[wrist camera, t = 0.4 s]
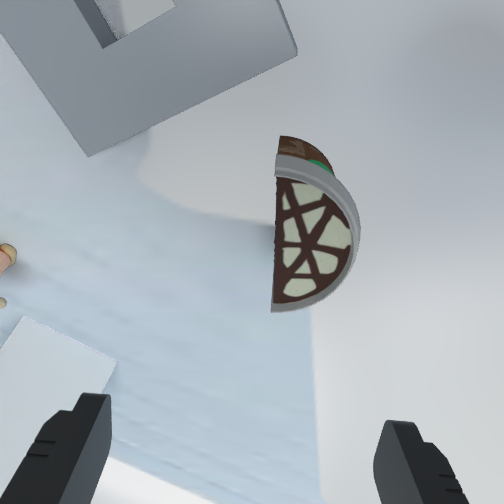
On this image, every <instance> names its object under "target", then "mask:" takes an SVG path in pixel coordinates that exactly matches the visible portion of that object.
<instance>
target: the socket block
mask: <svg viewBox="0 0 504 504" xmlns="http://www.w3.org/2000/svg"><path fill="white" fill-rule="evenodd" d="M173 2H174V4H175V6H176V7H175V8H173V9H172V10H169V11H168V12H166V13H164V14H162V15H161V16H159V17H157V18H156V19H154V20H152V21H150V22H149V23H147V24H145V25H144V26H142V27H140V28H138V29H137V30H135V31H133V32H131V33H130V34H128V35H126V36H124V37H123V38H121V39H119V40H118V41H117V40H116V38H115V36H114V35H113V33H112V31H111V30H110V28H109V26H108V24H107V23H106V21H105V19H104V17H103V16H102V14H101V12H100V11H99V9H98V7H97V5H96V4H95V2H94V0H0V33H1V34H2V35H3V37H4V38H5V40H6V41H7V43H8V44H9V45H10V47H11V48H12V50H13V51H14V53H15V54H16V55H17V57H18V58H19V60H20V61H21V63H22V64H23V65H24V67H25V68H26V70H27V71H28V73H29V74H30V75H31V77H32V78H33V80H34V81H35V83H36V84H37V85H38V87H39V88H40V90H41V91H42V93H43V94H44V95H45V97H46V98H47V100H48V101H49V103H50V104H51V105H52V107H53V108H54V110H55V111H56V113H57V114H58V115H59V117H60V118H61V120H62V121H63V123H64V124H65V125H66V127H67V128H68V130H69V131H70V133H71V134H72V135H73V137H74V138H75V140H76V141H77V143H78V144H79V145H80V147H81V148H82V150H83V151H84V153H85V154H86V156H87V157H90V156H92V155H94V154H96V153H98V152H101V151H103V150H105V149H107V148H109V147H111V146H113V145H115V144H117V143H119V142H121V141H123V140H125V139H127V138H129V137H131V136H133V135H135V134H138V133H140V132H142V131H144V130H146V129H148V128H150V127H152V126H154V125H156V124H158V123H160V122H162V121H164V120H166V119H168V118H170V117H172V116H174V115H177V114H179V113H180V112H183V111H185V110H187V109H189V108H191V107H193V106H195V105H197V104H199V103H201V102H203V101H205V100H207V99H209V98H211V97H213V96H216V95H218V94H220V93H222V92H224V91H226V90H228V89H230V88H232V87H234V86H236V85H238V84H240V83H242V82H244V81H246V80H248V79H250V78H252V77H255V76H257V75H258V74H261V73H263V72H265V71H267V70H269V69H271V68H273V67H275V66H277V65H279V64H281V63H283V62H285V61H287V60H289V59H291V58H293V57H296V56H297V46H296V43H295V41H294V38H293V35H292V33H291V31H290V28H289V25H288V23H287V20H286V17H285V15H284V12H283V10H282V7H281V4H280V2H279V0H173Z"/></svg>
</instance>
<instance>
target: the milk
mask: <svg viewBox="0 0 504 504" xmlns="http://www.w3.org/2000/svg"><path fill="white" fill-rule="evenodd" d="M117 362H118V361H117V360H115V359H113V358H111V357H109V356H107V355H105V354H103V353H101V352H99V351H97V350H95V349H92V348H90V347H88V346H86V345H84V344H82V343H80V342H78V341H76V340H74V339H72V338H70V337H68V336H66V335H63V334H61V333H59V332H57V331H55V330H53V329H51V328H49V327H47V326H45V325H43V324H41V323H39V322H37V321H34V320H32V319H30V318H28V317H26V316H24V315H23V317H22V318H21V320H20V321H19V323H18V324H17V326H16V327H15V329H14V330H13V331H12V333H11V334H10V336H9V337H8V339H7V340H6V342H5V343H4V345H3V346H2V348H1V349H0V497H1V496H2V494H3V492H4V491H5V489H6V487H7V485H8V484H9V482H10V480H11V479H12V477H13V475H14V474H15V472H16V470H17V468H18V467H19V465H20V463H21V462H22V460H23V458H24V457H26V453H27V451H28V450H29V448H30V446H31V445H32V443H34V440H35V438H36V436H37V434H38V433H39V431H40V429H41V428H42V426H43V424H44V423H45V422H46V421H47V420H49V419H50V418H51V417H52V416H53V415H54V414H56V413H57V412H58V411H59V410H67V411H72V410H73V408H74V406H75V405H76V403H77V401H78V399H79V397H80V395H81V394H82V393H83V392H86V393H97V394H101V393H102V391H103V389H104V387H105V386H106V384H107V382H108V380H109V378H110V376H111V374H112V372H113V370H114V368H115V366H116V364H117Z"/></svg>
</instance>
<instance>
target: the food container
mask: <svg viewBox="0 0 504 504" xmlns="http://www.w3.org/2000/svg"><path fill="white" fill-rule="evenodd" d="M275 176H276V179H277V182H276V185H277V192H276V221H275V225H276V231H275V241H274V243H275V249H274V251H275V255H274V257H275V260H274V274H273V287H272V300H271V313H283V312H291V311H296V310H300V309H304V308H307V307H309V306H312V305H314V304H316V303H318V302H320V301H322V300H324V299H325V298H326V297H328V296H329V295H331V294H332V293H333V292H334V291H335V290H336V289H337V288H338V287H339V286H340V285H341V284H342V282H343V281H344V279H345V278H346V277H347V275H348V273H349V272H350V270H351V268H352V266H353V264H354V262H355V259H356V255H357V251H358V247H359V241H360V230H361V226H360V219H359V214H358V211H357V208H356V205H355V203H354V201H353V199H352V197H351V195H350V193H349V192H348V191H347V189H346V188H345V187H344V186H343V185H342V183H341V182H340V181H339V180H338V179H336V177H335V175H334V172H333V169H332V166H331V165H330V163H329V161H328V160H327V159H326V157H325V156H324V155H323V153H321V152H320V151H319V150H318V149H317V148H316V147H314V146H313V145H311V144H310V143H308V142H306V141H303V140H301V139H298V138H294V137H289V136H280V140H279V147H278V153H277V155H276V163H275Z"/></svg>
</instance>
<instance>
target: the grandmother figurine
mask: <svg viewBox="0 0 504 504" xmlns="http://www.w3.org/2000/svg"><path fill="white" fill-rule="evenodd" d="M15 260H16V250H15V248H13V247H12V246H10V245H8V244H2V245H1V246H0V275H1V274H2V273H3V272H4V270H5V269H6V268H7V267H8V266H11V265H13V264H14V263H15ZM6 304H7V301H6V300H5V299H4V298H2V297H0V308H4V307H5V306H6Z"/></svg>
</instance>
